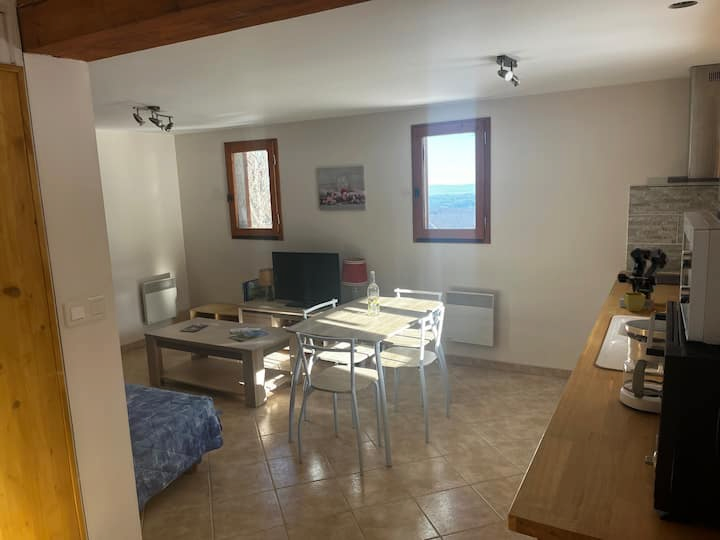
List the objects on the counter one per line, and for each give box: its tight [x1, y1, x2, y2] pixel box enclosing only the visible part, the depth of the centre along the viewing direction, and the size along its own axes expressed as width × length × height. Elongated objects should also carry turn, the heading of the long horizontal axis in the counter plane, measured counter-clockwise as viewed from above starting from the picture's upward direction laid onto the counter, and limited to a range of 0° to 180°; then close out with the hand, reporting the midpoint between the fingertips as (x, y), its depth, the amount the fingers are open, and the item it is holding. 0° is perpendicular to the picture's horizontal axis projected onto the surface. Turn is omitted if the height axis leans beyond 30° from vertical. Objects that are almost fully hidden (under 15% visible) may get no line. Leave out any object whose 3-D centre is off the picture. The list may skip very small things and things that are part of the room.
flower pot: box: [623, 291, 646, 312], centre depth 283 cm, size 9×9×9 cm
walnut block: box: [642, 299, 655, 310], centre depth 288 cm, size 4×4×4 cm
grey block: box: [619, 297, 627, 309], centre depth 292 cm, size 4×4×4 cm
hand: (633, 292), depth 288 cm, fingers closed
